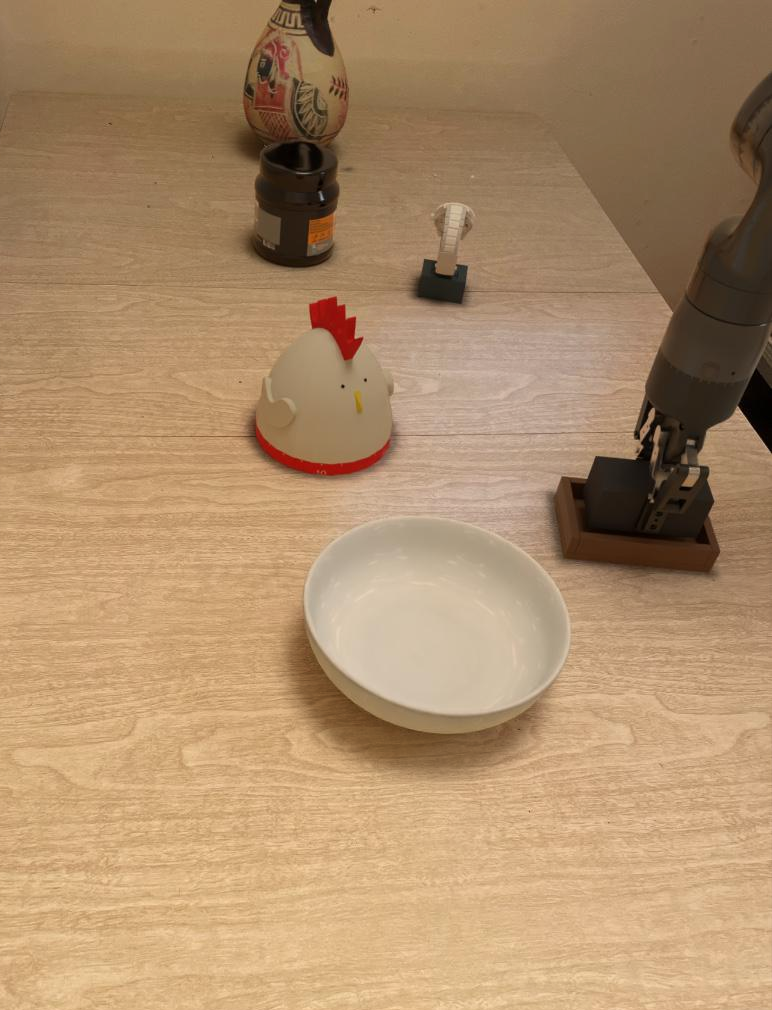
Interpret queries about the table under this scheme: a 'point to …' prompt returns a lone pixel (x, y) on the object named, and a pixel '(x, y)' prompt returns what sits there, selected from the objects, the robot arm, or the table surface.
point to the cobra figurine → (447, 255)
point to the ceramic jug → (296, 77)
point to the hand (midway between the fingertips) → (640, 510)
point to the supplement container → (296, 203)
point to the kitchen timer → (326, 399)
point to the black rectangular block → (635, 498)
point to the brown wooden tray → (627, 538)
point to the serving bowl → (435, 623)
